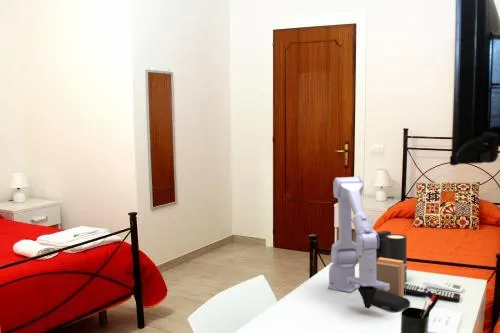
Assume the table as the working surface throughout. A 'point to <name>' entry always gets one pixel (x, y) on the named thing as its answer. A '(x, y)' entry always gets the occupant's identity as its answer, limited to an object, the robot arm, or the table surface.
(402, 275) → the tan upright slab
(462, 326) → the table surface
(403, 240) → the light fixture
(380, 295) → the carrying case or bag
